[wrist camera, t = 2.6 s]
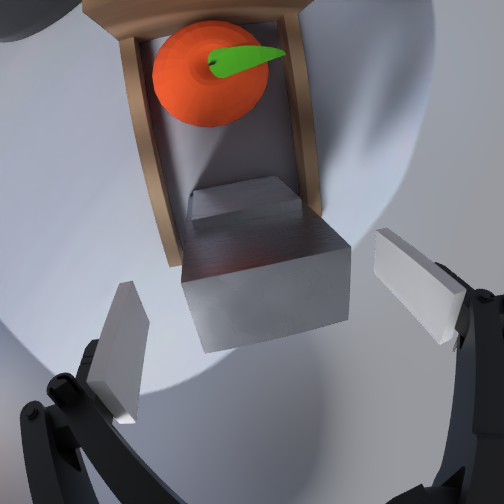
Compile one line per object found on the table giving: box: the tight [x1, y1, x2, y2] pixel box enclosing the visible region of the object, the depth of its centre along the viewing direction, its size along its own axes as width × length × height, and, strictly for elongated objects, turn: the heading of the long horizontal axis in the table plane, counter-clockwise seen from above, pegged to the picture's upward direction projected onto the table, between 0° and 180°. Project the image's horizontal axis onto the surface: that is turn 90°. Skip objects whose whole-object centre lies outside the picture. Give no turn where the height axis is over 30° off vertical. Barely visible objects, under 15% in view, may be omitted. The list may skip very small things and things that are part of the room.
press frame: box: [82, 0, 321, 267], centre depth 16 cm, size 19×12×9 cm, turn 9°
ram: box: [181, 176, 351, 354], centre depth 18 cm, size 5×7×12 cm, turn 99°
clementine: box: [152, 20, 286, 127], centre depth 15 cm, size 8×7×7 cm
